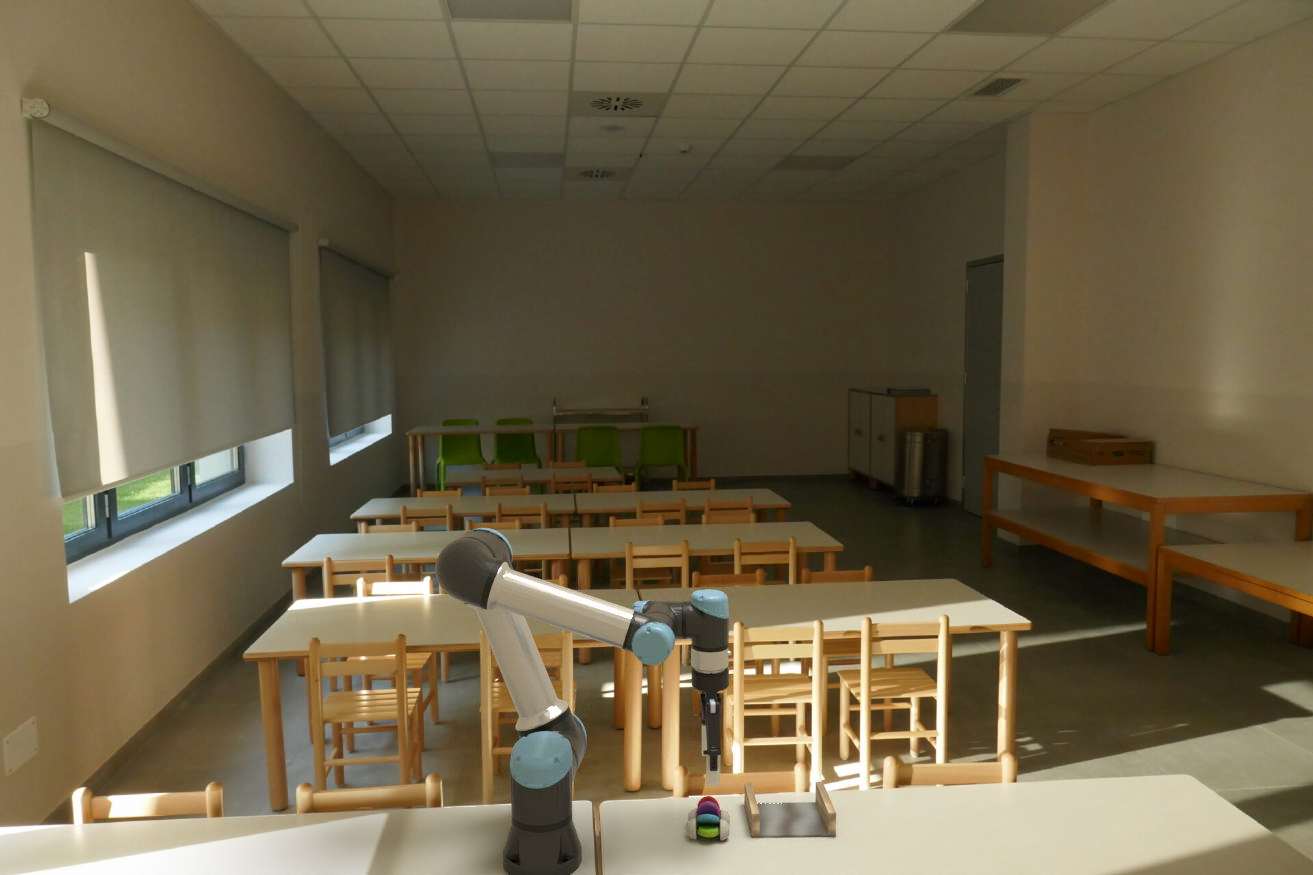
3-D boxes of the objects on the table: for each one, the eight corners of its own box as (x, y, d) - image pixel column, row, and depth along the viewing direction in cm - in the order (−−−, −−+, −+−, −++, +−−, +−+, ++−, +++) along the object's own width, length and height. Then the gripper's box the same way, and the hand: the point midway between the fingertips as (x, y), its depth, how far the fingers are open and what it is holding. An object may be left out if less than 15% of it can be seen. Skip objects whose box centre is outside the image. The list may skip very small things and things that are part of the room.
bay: (752, 837, 189) (752, 813, 189) (744, 804, 203) (744, 782, 203) (835, 836, 190) (836, 812, 189) (822, 803, 204) (822, 781, 203)
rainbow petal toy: (729, 822, 196) (730, 789, 195) (728, 846, 186) (729, 811, 185) (689, 820, 196) (689, 787, 196) (686, 844, 187) (686, 809, 186)
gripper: (735, 688, 176) (735, 797, 178) (723, 648, 201) (723, 743, 202) (695, 689, 176) (695, 798, 177) (688, 648, 201) (689, 744, 202)
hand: (710, 769), depth 190 cm, fingers open, 13 cm apart
